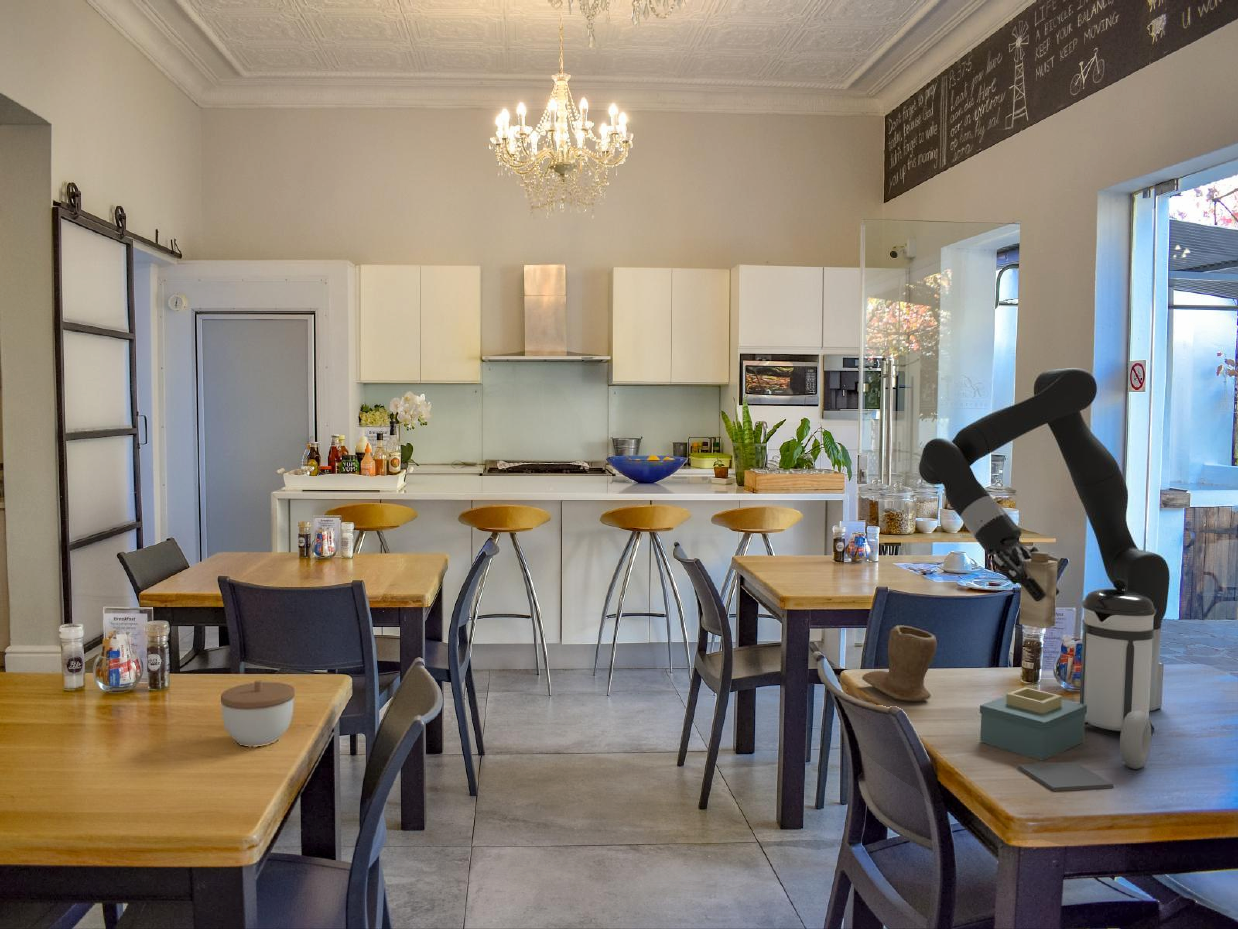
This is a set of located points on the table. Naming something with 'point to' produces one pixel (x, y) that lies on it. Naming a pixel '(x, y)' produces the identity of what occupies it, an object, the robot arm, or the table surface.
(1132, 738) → the donut
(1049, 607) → the wooden block
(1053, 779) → the rubber mat
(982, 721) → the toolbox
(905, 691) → the brown top hat
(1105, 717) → the coffee press
